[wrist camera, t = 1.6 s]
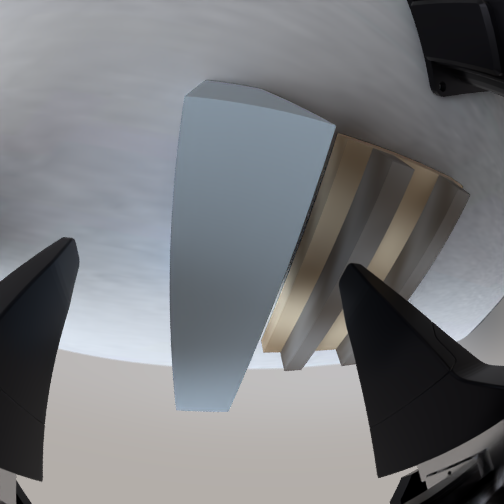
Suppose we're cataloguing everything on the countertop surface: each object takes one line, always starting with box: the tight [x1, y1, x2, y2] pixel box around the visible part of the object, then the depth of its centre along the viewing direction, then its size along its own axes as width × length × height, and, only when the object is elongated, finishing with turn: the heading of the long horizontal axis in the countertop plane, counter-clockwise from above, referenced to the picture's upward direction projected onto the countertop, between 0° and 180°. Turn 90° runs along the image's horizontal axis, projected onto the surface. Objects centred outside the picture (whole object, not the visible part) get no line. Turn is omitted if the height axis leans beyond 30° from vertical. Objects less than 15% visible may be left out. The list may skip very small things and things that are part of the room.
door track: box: [261, 133, 470, 371], centre depth 14 cm, size 14×8×2 cm, turn 168°
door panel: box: [170, 80, 336, 412], centre depth 9 cm, size 10×2×7 cm, turn 168°
